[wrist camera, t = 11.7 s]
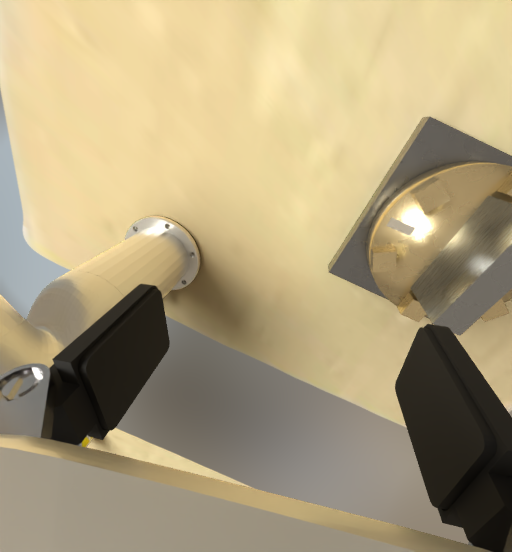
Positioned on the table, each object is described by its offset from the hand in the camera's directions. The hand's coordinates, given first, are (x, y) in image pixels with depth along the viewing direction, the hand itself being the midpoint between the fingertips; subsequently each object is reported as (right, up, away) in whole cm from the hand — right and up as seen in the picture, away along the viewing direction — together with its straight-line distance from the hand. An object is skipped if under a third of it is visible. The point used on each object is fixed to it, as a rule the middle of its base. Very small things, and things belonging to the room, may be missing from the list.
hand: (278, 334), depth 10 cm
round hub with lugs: (+22, +6, +22) cm, 32 cm away
